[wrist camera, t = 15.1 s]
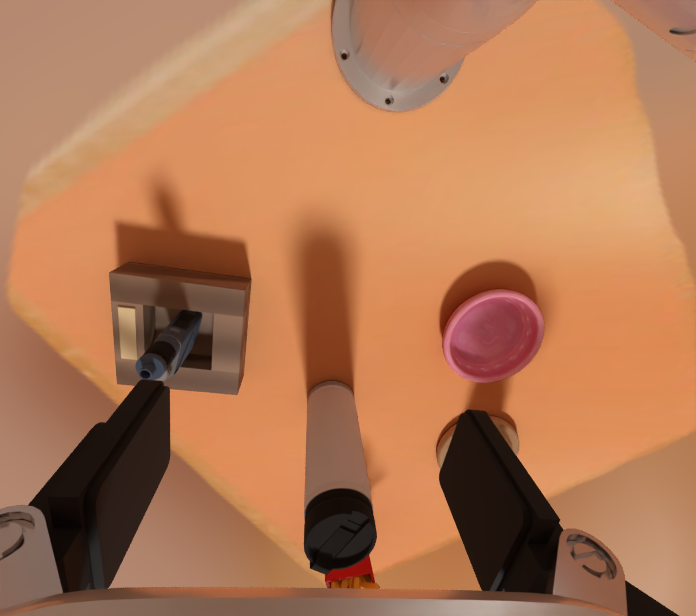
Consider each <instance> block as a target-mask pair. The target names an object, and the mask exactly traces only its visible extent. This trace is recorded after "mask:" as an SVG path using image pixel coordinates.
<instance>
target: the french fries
mask: <svg viewBox="0 0 696 616" xmlns="http://www.w3.org/2000/svg"><path fill="white" fill-rule="evenodd" d="M325 582H326V585H327V588H353V589H379V588H380V586H379V585H378V584H377V583H375V580H374V575H373V571H372V566H371V562H370V557H369V555H368V556H367V557H366V558H365V559H364V560H362V561H361V562H360V563H358V564H356V565H354V566H352V567H349V568H346V569H341V570H332V571H331V572H330V573H329V574H328V575H326V574H325Z"/></svg>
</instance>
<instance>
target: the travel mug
mask: <svg viewBox="0 0 696 616" xmlns="http://www.w3.org/2000/svg"><path fill="white" fill-rule="evenodd" d="M304 507H305V509H304V517H305V525H304V551H305V554H306V556H307V558H308V559H309V560H310V569H313V570H315V571H318V572H320V573H323V574H326V575H328V574H329V573H330V572H331V571H332V570H341V569H346V568H349V567H352V566H354V565H356V564H358V563H360V562H361V561H362V560H364V559H365V558H366V557H367V556H368V555H369V554H370V552H371V551H372V550H373V548H374V546H375V543H376V539H377V532H376V526H375V520H374V516H373V504H372V499H371V493H370V487H369V481H368V475H367V469H366V463H365V457H364V452H363V446H362V440H361V434H360V428H359V422H358V416H357V410H356V405H355V399H354V394H353V392H352V390H351V389H350V388H349V387H348V386H347V385H346V384H344V383H342V382H338V381H325V382H322V383H320V384H318V385H316V386H315V387H314V388H313V389H312V390H311V391H310V393H309V395H308V400H307V432H306V467H305V502H304Z"/></svg>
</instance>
